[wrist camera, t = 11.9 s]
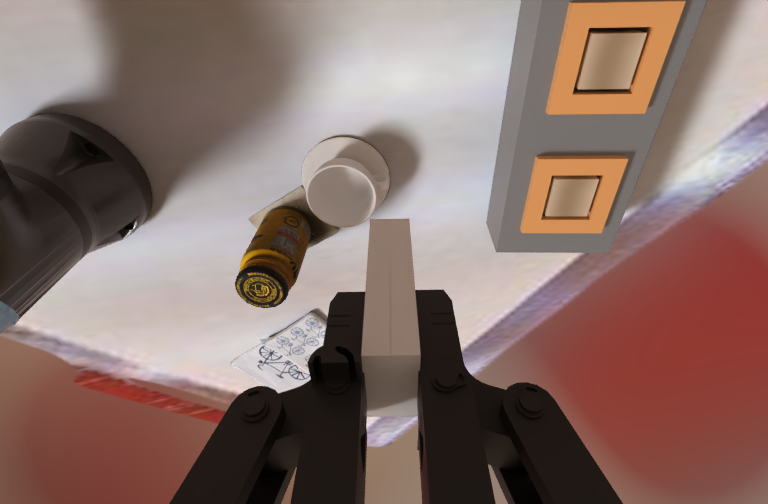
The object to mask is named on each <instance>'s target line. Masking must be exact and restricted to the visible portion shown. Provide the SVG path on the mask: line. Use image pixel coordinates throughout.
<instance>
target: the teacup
mask: <svg viewBox="0 0 768 504" xmlns="http://www.w3.org/2000/svg"><path fill="white" fill-rule="evenodd" d="M302 182H303V186H304V189H305V191H306V198H307V202H308V205H309V207H310V209H311V210H312V212H313V213H314V214H315V215H316V216H317V217H318V218H319V219H320V220H322V221H323V222H325V223H327V224H329V225H332V226H336V227H352V226H356V225H358V224H361V223H362V222H364V221H365V220H367V219H368V218H369V217H370V216H371V214H372V213H373V211H374V210H375V209H376V208H378V207H379V206H380V205H381V203H382V202H383V201H384V199H385V198H386V196H387V193H388V190H389V186H390V175H389V170H388V167H387V164H386V162H385V160H384V159H383V157H382V156H381V155H380V153H379V152H378V151H377V150H376V149H375V148H373V147H372V146H371V145H369V144H367V143H366V142H364V141H361V140H359V139H355V138H351V137H335V138H330V139H327V140H325V141H323V142H321V143H319V144H318V145H316V146H315V147H314V148H313V149H312V150H311V151H310V152H309V153H308V155H307V157H306V158H305V161H304V163H303V167H302Z"/></svg>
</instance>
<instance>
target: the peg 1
mask: <svg viewBox="0 0 768 504" xmlns="http://www.w3.org/2000/svg"><path fill="white" fill-rule="evenodd" d="M598 181H599V179H598V178H597V176H596V175H568V176H552V178H551V182H550V186H549V190H548V194H547V198H546V202H545V206H544V210H543V212H544V214H545V216H587V215H588V212H589V209H590V206H591V203H592V200H593V197H594V194H595V191H596V188H597V184H598Z"/></svg>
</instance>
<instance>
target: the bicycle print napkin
mask: <svg viewBox="0 0 768 504" xmlns="http://www.w3.org/2000/svg"><path fill="white" fill-rule="evenodd" d="M326 325H327V322H325V321H324V320H323V319H322V318H320V317H319V316H318V315H317V314H316V313H315V312H313V313H308V314H307V315H305V316H304V317H303V318H301V319H300V320H298V321H297V322H295V323H294V324H292V325H291V326H289V327H288V328H286V329H285V330H283V331H282V332H280V333H279V334H277V335H275V336H273V337H270V338H267V339H263V340H261V342H262V343H261V344H259V345H257V346H256V347H254V348H252V349H251V350H249V351H247V352H245V353H244V354H242V355H240V356H239V357H237V358H236V359H234V360H233V361H232V362H231V365H232V366H233V367H235V368H237V369H239V370H241V371H242V372H244V373H246V374H247V375H249V376H250V377H251V378H253V379H254V380H256V381H257V382H259V383H260V384H262V385H263V386H268V387H270V388H272V389H274V390H276V391H277V393H281V392H284V391H287V390H291V389H294V388H297V387H299V386H301V385H303V384H305V383H306V382H308V381H309V380H310V379H311V378H310V373H309V368H308V364H307V363H308V360H309V358H310V356H311V354H312V353H313V352H314V351H315V350H316V349H317V348H319V347H321V346H323V343H324V337H325V331H326ZM296 365H297V366H298V367H299V368H301V369H302V370H304V371H305V372H306V373H308V374H305V373H302V372H300V371H298V370H297V369H298V367H297V366H296Z"/></svg>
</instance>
